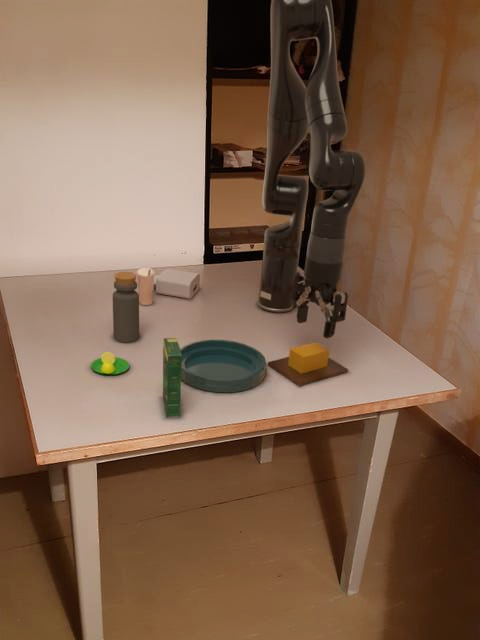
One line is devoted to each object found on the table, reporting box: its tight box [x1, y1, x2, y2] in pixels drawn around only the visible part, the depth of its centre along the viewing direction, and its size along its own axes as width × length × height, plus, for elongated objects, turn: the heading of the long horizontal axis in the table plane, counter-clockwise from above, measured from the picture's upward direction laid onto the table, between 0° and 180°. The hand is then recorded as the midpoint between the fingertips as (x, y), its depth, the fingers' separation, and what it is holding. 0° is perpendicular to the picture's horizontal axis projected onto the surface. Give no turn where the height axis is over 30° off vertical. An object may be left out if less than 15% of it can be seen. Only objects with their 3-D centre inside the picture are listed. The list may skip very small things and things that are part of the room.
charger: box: [154, 268, 201, 300], centre depth 181 cm, size 5×9×15 cm
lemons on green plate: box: [90, 351, 130, 375], centre depth 141 cm, size 8×8×3 cm
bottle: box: [112, 271, 140, 344], centre depth 151 cm, size 6×6×15 cm
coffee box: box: [162, 337, 182, 419], centre depth 126 cm, size 8×3×13 cm, turn 10°
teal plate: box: [180, 339, 267, 393], centre depth 143 cm, size 19×19×3 cm
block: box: [288, 341, 330, 374], centre depth 147 cm, size 8×5×4 cm, turn 125°
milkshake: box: [136, 267, 156, 306], centre depth 170 cm, size 4×5×10 cm
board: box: [267, 356, 349, 387], centre depth 148 cm, size 14×11×1 cm
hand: (314, 329), depth 143 cm, fingers open, 8 cm apart
